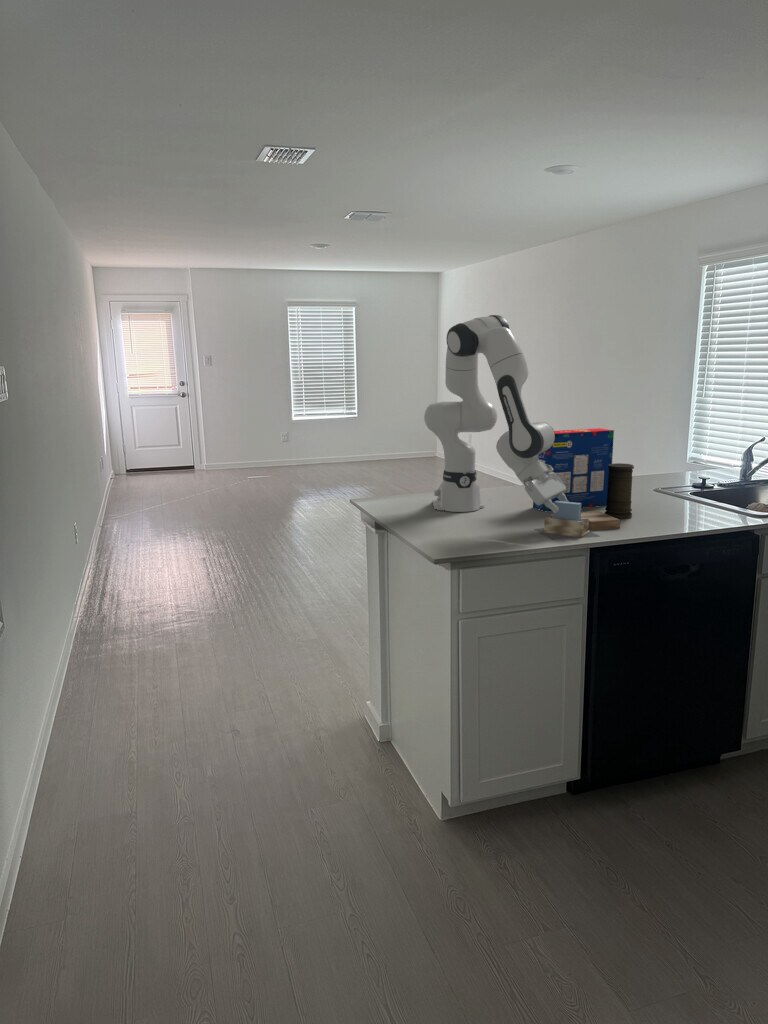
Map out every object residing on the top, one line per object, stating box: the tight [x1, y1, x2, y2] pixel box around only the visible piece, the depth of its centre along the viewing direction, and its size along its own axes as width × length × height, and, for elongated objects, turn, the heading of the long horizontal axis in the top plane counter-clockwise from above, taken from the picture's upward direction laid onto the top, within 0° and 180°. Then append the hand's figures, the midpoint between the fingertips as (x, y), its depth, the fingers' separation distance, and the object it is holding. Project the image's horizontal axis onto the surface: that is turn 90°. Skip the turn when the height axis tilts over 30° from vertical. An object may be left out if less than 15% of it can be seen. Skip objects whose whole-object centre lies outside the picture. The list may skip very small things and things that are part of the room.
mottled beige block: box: [542, 513, 591, 538], centre depth 221 cm, size 13×7×5 cm, turn 57°
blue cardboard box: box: [532, 427, 615, 512], centre depth 258 cm, size 28×8×28 cm, turn 111°
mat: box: [533, 527, 600, 541], centre depth 221 cm, size 14×16×1 cm
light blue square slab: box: [552, 501, 582, 521], centre depth 220 cm, size 8×2×9 cm, turn 57°
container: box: [604, 462, 635, 520], centre depth 242 cm, size 9×9×18 cm
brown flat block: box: [581, 510, 621, 531], centre depth 232 cm, size 14×10×3 cm
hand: (562, 508), depth 221 cm, fingers open, 8 cm apart
